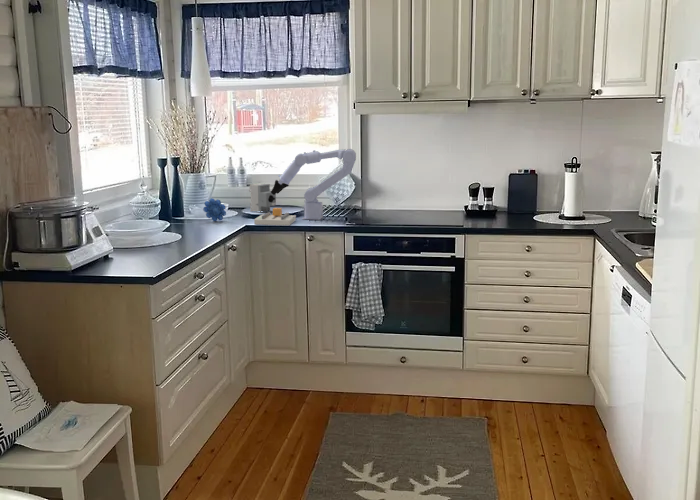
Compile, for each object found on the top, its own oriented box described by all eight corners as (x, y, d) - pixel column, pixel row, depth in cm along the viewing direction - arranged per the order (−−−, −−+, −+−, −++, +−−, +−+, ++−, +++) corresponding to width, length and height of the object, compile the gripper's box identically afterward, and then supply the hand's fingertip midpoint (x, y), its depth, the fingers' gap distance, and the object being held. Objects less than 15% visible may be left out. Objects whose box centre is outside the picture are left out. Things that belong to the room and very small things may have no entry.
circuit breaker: (268, 214, 388) (268, 186, 385) (250, 211, 397) (249, 184, 393) (278, 212, 394) (277, 185, 391) (259, 209, 402) (258, 182, 399)
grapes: (205, 223, 363) (203, 200, 361) (203, 221, 370) (201, 198, 367) (227, 221, 367) (226, 198, 364) (225, 219, 373) (224, 196, 370)
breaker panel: (295, 220, 372) (295, 212, 371) (289, 225, 358) (289, 217, 357) (262, 219, 374) (262, 211, 373) (254, 224, 361) (254, 216, 360)
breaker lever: (281, 214, 371) (281, 208, 370) (280, 215, 368) (280, 209, 367) (274, 214, 371) (274, 207, 370) (272, 215, 368) (272, 208, 367)
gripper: (287, 167, 378) (271, 187, 381) (280, 168, 364) (264, 189, 367) (297, 176, 378) (281, 195, 381) (291, 177, 364) (275, 198, 367)
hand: (274, 193), depth 374 cm, fingers open, 7 cm apart
